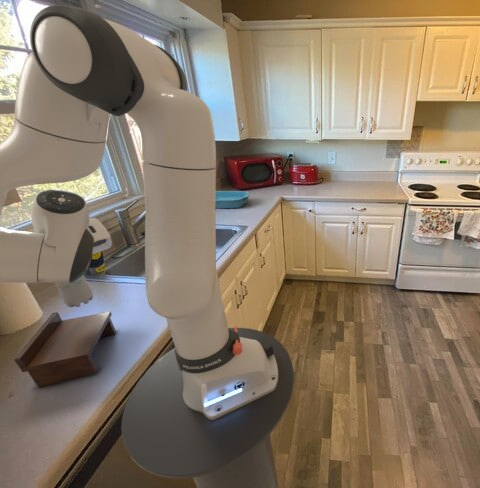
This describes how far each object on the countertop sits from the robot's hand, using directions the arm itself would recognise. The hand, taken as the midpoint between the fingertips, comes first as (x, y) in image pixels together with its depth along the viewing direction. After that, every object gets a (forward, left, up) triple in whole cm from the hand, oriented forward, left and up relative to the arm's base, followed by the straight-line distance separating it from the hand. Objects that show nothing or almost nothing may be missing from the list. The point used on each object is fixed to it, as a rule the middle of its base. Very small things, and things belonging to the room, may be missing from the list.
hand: (63, 266), depth 73 cm
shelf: (+1, +8, -24) cm, 25 cm away
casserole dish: (-38, -121, -24) cm, 129 cm away
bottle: (0, 0, -12) cm, 12 cm away
